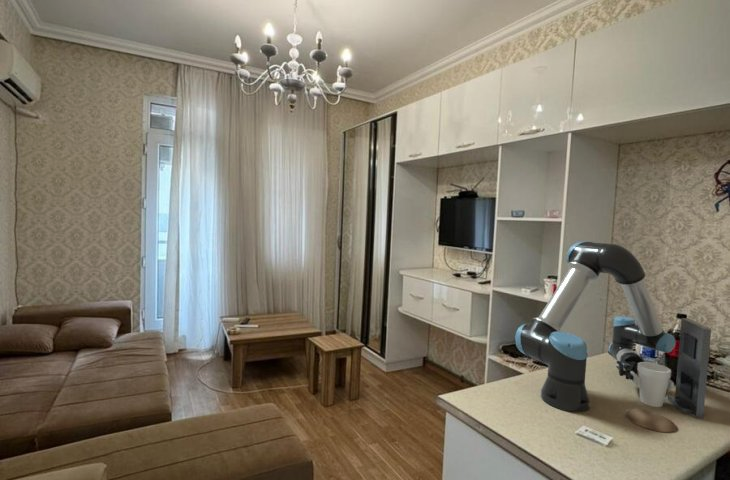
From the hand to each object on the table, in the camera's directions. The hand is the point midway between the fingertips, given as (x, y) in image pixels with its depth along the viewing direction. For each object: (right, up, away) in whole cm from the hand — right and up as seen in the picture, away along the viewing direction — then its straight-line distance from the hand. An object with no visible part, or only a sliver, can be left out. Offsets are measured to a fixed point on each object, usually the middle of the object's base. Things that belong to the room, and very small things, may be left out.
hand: (655, 384), depth 132 cm
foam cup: (0, -8, +2) cm, 8 cm away
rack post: (+9, -8, 0) cm, 12 cm away
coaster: (-10, -8, -10) cm, 16 cm away
